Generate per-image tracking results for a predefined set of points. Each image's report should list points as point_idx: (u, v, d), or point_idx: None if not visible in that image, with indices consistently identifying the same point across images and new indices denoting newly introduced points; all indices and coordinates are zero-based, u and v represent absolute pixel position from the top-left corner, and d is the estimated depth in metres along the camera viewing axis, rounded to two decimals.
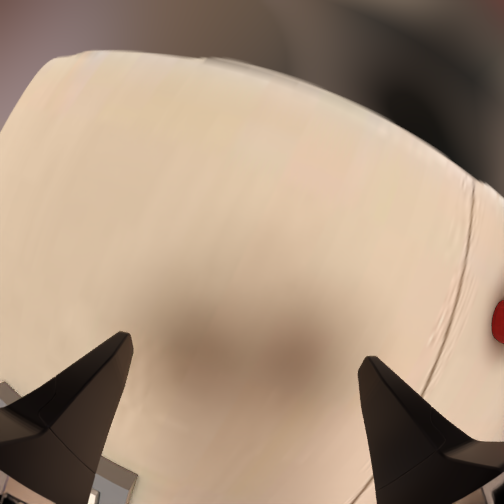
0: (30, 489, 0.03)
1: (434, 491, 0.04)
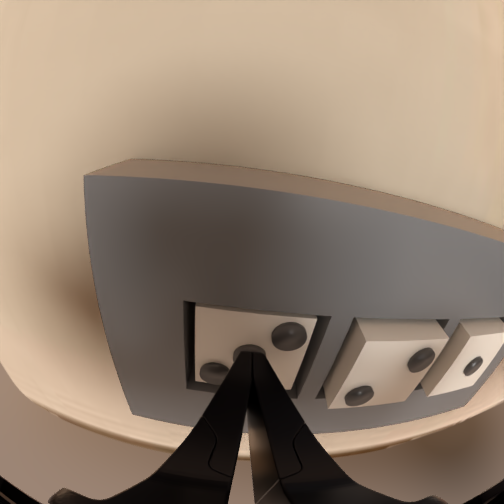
0: None
1: None
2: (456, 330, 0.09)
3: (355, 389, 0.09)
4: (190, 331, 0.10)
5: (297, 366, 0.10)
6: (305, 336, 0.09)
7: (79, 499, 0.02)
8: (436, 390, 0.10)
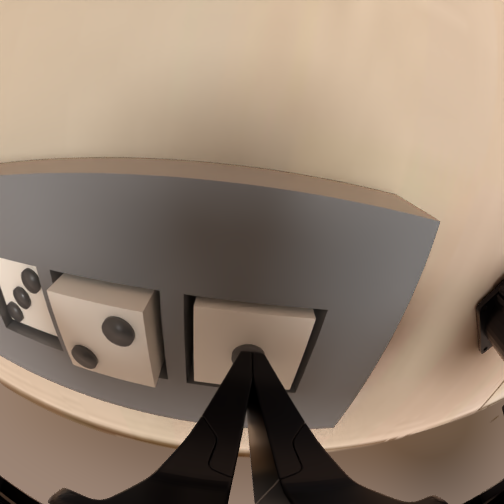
0: None
1: None
2: None
3: (74, 346, 0.09)
4: None
5: None
6: (35, 280, 0.09)
7: (79, 499, 0.02)
8: (202, 375, 0.10)
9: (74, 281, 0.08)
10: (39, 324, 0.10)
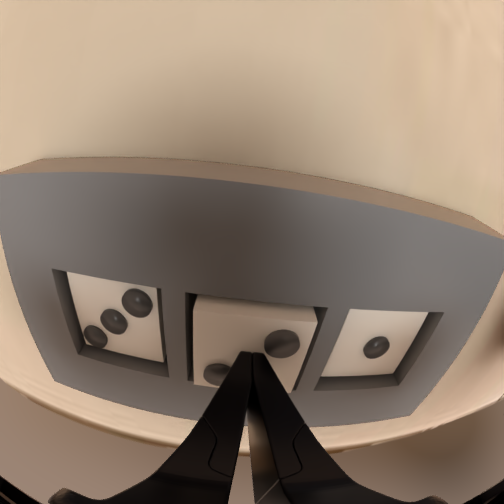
0: None
1: None
2: None
3: (209, 365, 0.09)
4: None
5: (158, 336, 0.10)
6: (148, 303, 0.09)
7: (79, 499, 0.02)
8: (331, 370, 0.11)
9: None
10: (132, 349, 0.11)
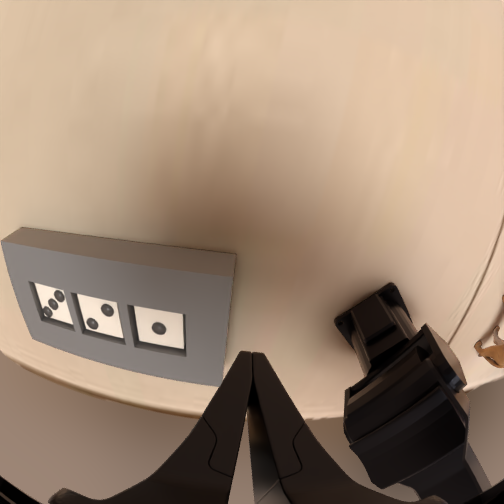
0: None
1: None
2: None
3: (88, 318, 0.20)
4: None
5: None
6: (62, 296, 0.19)
7: (79, 499, 0.02)
8: (142, 337, 0.21)
9: None
10: (62, 318, 0.21)
